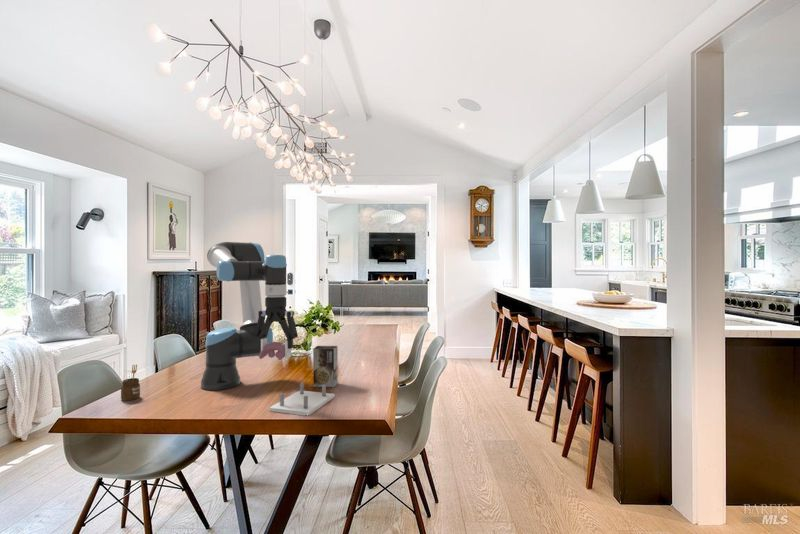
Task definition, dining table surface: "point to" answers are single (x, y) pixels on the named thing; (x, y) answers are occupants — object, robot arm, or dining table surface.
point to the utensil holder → (130, 387)
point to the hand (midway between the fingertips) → (275, 356)
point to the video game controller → (271, 348)
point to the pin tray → (302, 401)
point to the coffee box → (325, 366)
